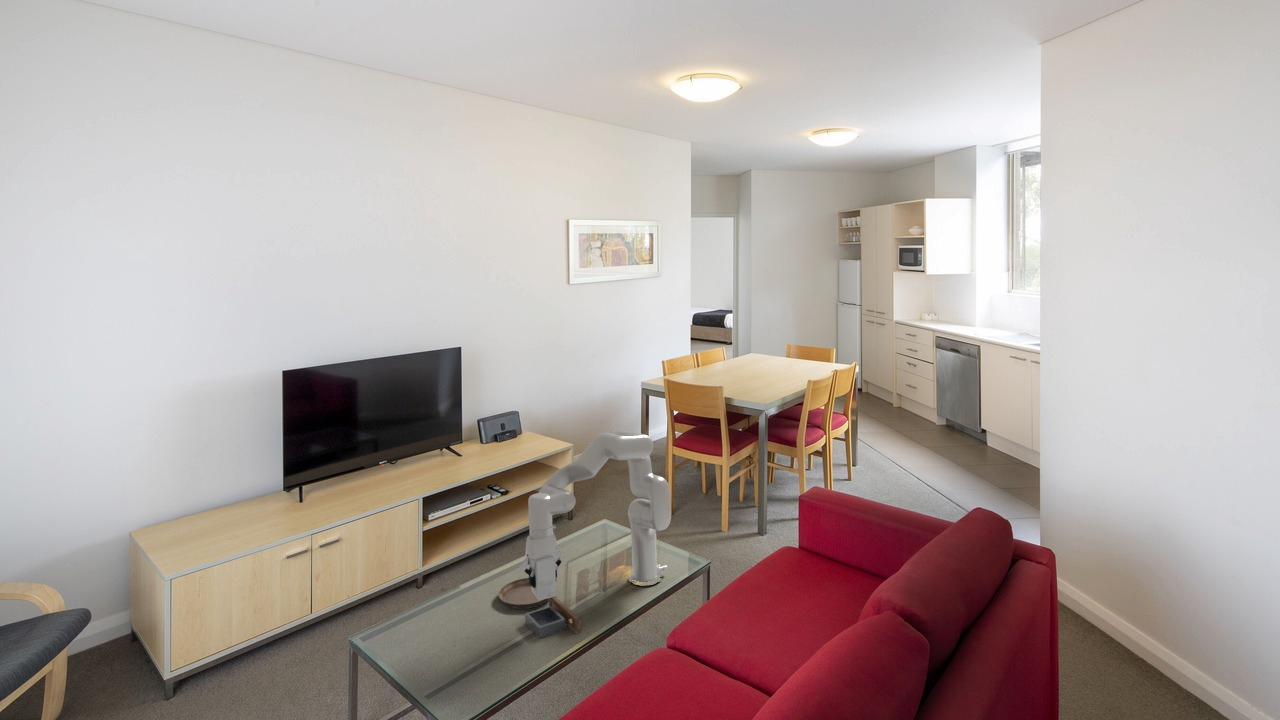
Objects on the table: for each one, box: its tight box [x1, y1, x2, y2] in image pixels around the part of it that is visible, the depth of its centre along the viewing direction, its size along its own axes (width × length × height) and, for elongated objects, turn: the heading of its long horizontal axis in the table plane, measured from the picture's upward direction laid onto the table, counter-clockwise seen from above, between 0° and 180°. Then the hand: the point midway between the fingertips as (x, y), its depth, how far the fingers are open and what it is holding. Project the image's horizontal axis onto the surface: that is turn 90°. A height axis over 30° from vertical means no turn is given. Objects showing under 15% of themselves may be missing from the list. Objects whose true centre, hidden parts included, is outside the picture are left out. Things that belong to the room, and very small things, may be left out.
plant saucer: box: [498, 577, 549, 610], centre depth 234 cm, size 21×21×3 cm
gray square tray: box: [524, 605, 567, 639], centre depth 213 cm, size 10×12×4 cm
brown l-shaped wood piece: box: [548, 595, 581, 634], centre depth 216 cm, size 3×20×10 cm, turn 33°
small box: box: [531, 557, 557, 600], centre depth 211 cm, size 8×6×13 cm
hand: (543, 583), depth 211 cm, fingers closed on small box, 6 cm apart
